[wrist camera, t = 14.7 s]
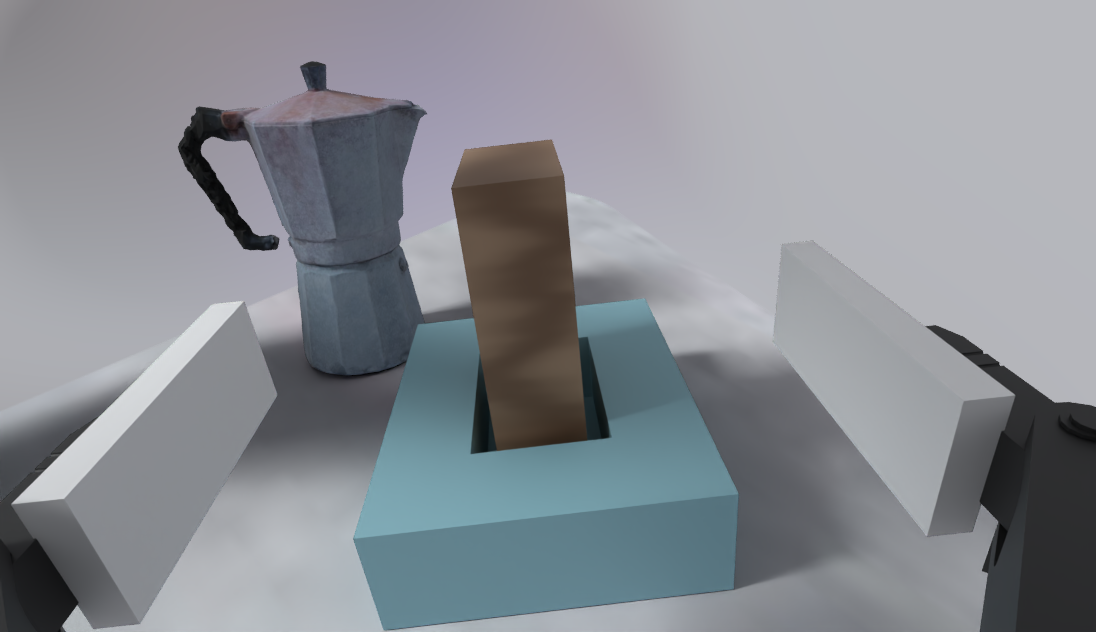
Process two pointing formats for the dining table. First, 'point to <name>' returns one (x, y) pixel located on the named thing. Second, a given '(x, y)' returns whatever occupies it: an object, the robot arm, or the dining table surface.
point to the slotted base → (545, 486)
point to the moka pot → (329, 213)
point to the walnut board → (522, 291)
